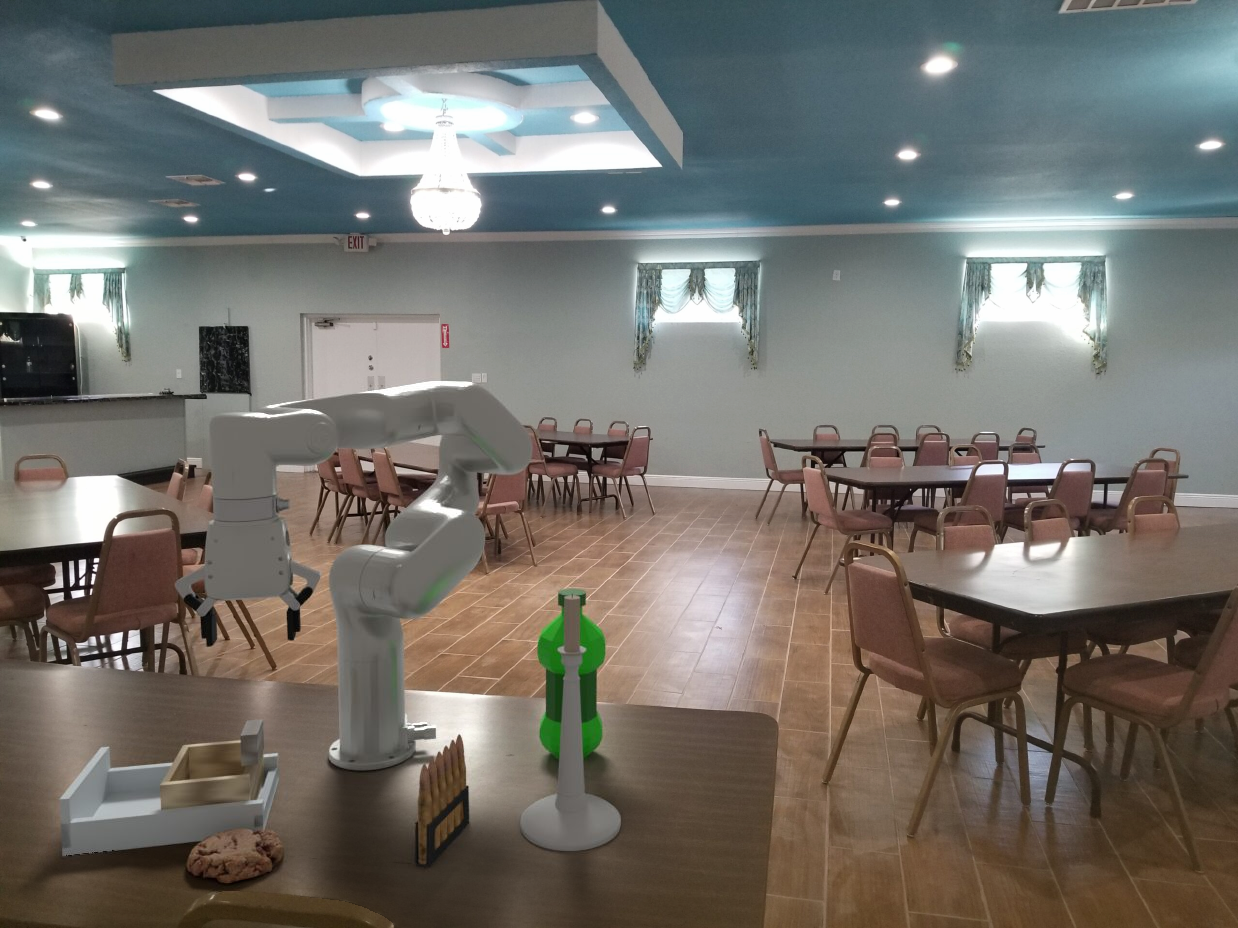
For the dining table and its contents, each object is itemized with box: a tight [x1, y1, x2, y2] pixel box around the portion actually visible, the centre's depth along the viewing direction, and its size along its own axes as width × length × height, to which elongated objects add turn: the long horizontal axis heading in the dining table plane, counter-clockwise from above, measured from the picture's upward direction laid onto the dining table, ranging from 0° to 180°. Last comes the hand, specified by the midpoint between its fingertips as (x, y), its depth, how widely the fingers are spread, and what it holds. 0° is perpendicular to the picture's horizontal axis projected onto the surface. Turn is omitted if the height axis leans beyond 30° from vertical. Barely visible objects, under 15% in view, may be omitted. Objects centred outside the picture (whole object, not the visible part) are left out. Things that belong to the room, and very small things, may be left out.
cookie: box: [186, 829, 285, 884], centre depth 100 cm, size 10×11×3 cm
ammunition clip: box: [414, 733, 470, 869], centre depth 104 cm, size 11×2×12 cm, turn 164°
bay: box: [58, 746, 280, 857], centre depth 110 cm, size 22×15×7 cm, turn 104°
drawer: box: [160, 718, 265, 810], centre depth 111 cm, size 11×12×10 cm
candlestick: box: [519, 594, 622, 852], centre depth 108 cm, size 13×13×30 cm
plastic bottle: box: [536, 588, 607, 760], centre depth 129 cm, size 10×10×25 cm
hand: (252, 640), depth 111 cm, fingers open, 9 cm apart
